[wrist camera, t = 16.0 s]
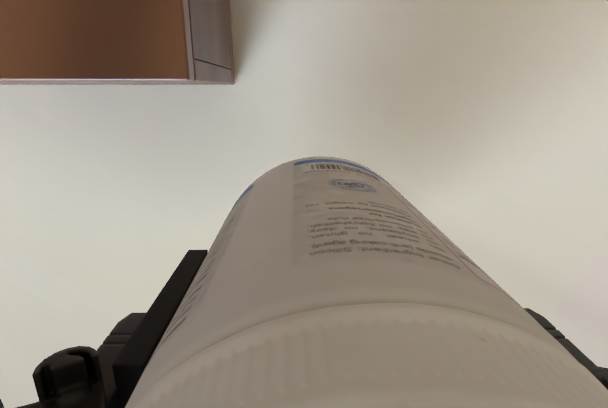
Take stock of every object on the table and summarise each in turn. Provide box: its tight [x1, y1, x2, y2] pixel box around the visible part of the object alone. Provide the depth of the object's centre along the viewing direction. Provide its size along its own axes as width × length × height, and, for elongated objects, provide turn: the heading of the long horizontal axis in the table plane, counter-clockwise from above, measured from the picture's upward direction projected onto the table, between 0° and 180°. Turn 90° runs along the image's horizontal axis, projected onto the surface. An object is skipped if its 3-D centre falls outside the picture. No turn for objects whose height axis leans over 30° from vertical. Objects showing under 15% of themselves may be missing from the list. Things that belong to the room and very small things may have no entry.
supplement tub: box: [125, 157, 608, 408], centre depth 12 cm, size 10×10×15 cm
